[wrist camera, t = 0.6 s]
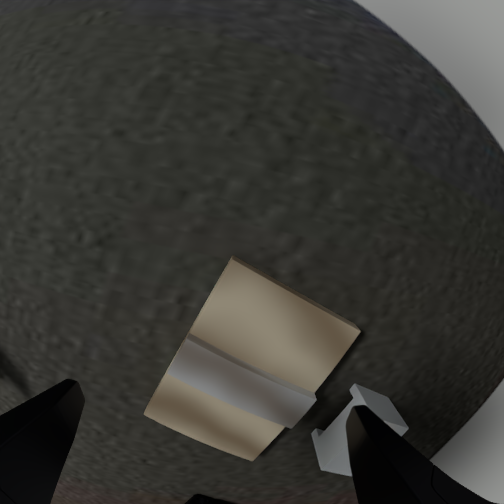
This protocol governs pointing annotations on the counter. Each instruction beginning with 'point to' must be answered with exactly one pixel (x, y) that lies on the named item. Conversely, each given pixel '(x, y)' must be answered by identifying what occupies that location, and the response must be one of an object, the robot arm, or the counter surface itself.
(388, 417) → the block
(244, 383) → the board
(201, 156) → the counter surface
